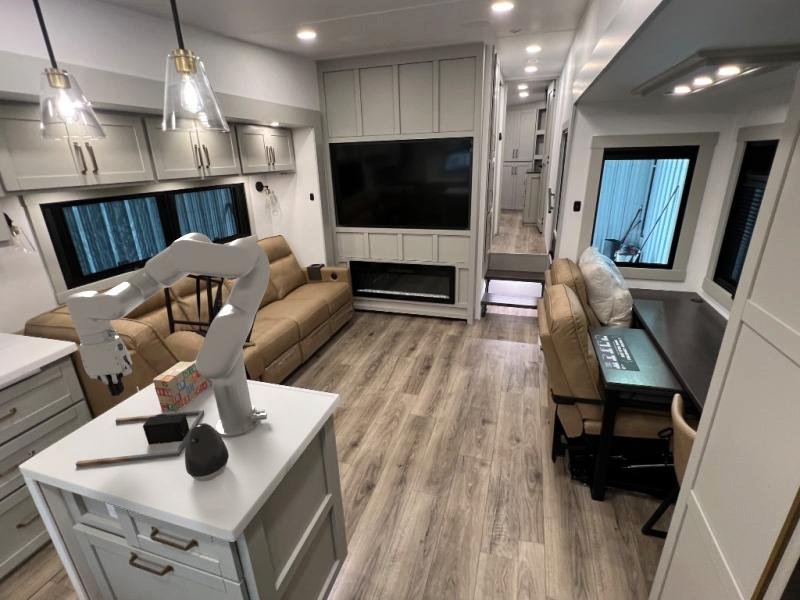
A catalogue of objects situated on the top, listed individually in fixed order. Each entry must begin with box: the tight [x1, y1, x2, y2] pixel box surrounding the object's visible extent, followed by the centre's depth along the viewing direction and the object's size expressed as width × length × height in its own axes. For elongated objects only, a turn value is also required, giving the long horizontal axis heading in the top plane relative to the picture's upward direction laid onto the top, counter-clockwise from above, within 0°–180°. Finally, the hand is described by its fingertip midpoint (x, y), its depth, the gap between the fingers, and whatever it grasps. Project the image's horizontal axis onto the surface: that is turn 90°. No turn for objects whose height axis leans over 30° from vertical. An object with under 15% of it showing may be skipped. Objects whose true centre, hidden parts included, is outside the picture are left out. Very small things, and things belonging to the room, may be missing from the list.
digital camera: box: [142, 413, 190, 445], centre depth 115 cm, size 10×5×7 cm, turn 97°
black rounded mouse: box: [184, 422, 230, 482], centre depth 99 cm, size 10×10×15 cm
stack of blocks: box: [152, 359, 212, 413], centre depth 136 cm, size 21×6×12 cm, turn 167°
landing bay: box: [130, 409, 206, 462], centre depth 116 cm, size 13×20×1 cm, turn 7°
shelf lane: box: [75, 414, 157, 468], centre depth 115 cm, size 14×20×1 cm
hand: (118, 393), depth 110 cm, fingers closed
